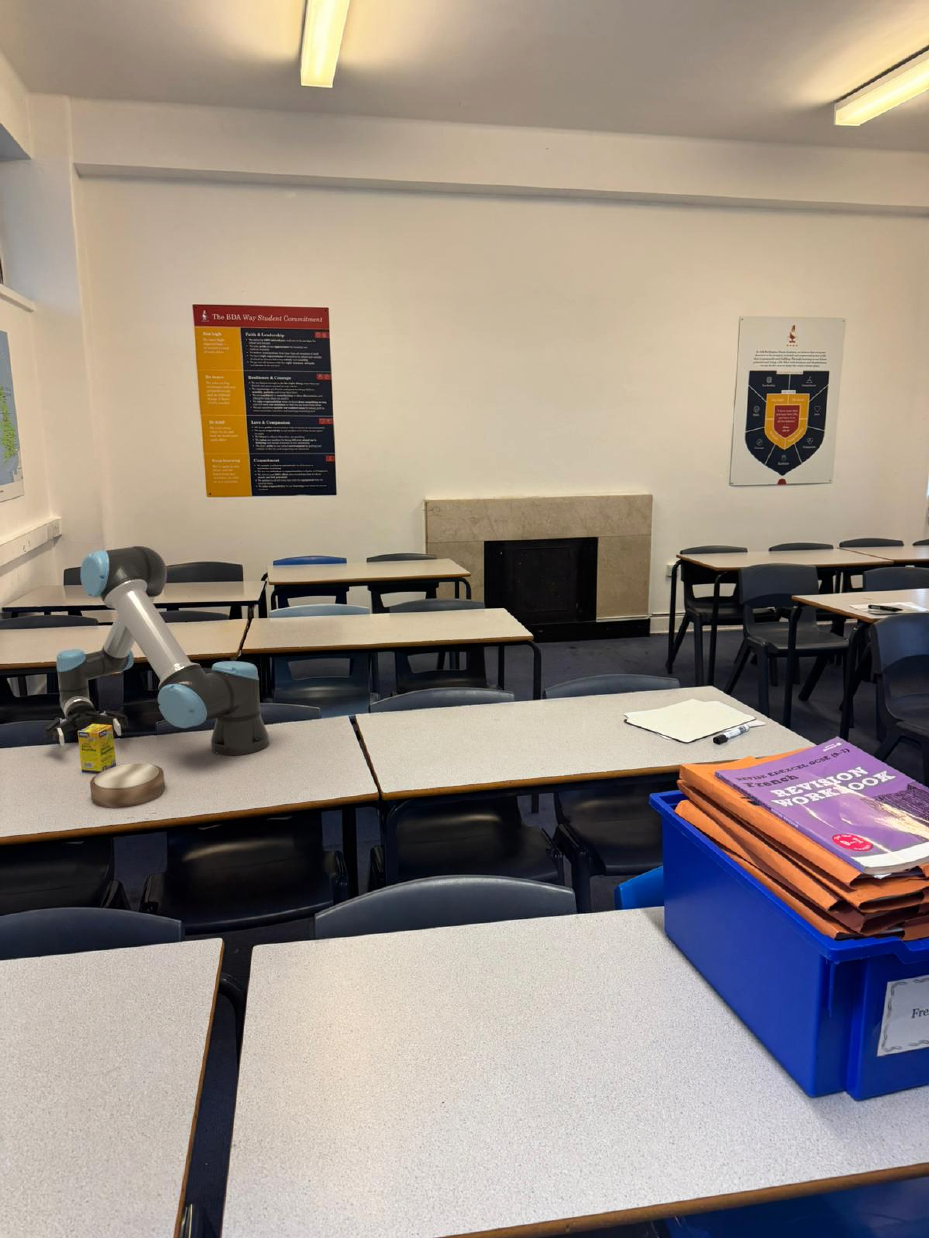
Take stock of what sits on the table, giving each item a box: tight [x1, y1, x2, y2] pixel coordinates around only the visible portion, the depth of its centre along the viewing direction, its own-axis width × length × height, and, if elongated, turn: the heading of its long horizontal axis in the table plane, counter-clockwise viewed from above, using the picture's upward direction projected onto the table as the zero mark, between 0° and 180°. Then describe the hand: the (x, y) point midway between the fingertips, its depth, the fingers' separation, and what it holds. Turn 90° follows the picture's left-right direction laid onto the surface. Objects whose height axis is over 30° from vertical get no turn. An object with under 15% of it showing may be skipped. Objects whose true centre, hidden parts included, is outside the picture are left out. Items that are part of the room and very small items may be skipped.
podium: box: [89, 763, 166, 809], centre depth 190 cm, size 16×16×4 cm
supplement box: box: [77, 724, 117, 774], centre depth 204 cm, size 6×6×11 cm
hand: (91, 735), depth 210 cm, fingers open, 13 cm apart
